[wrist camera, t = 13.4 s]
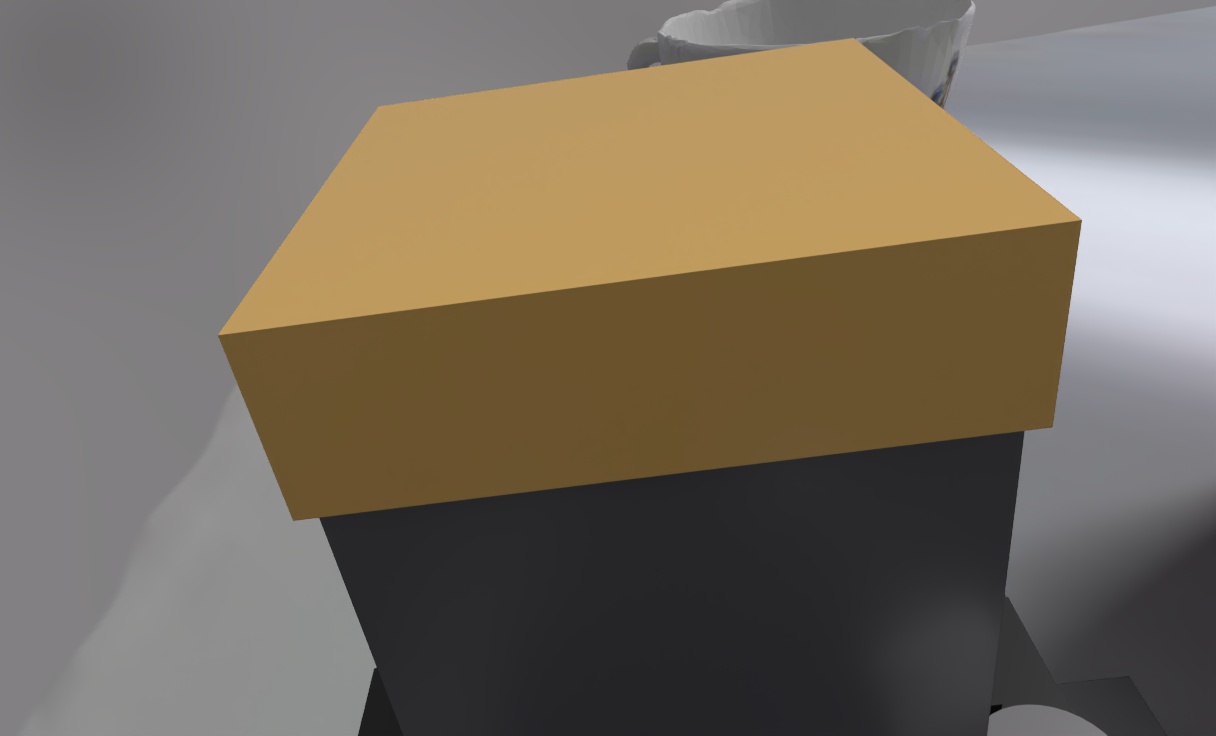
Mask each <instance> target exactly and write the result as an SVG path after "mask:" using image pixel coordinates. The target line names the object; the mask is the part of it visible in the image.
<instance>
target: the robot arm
mask: <svg viewBox="0 0 1216 736" xmlns="http://www.w3.org/2000/svg"><path fill="white" fill-rule="evenodd" d="M358 736H403V733H402V731H401V728H400V725H399V723H398V720H397V718H396V715H395V712H394V710H393V707H392V705H391V702H390V700H389V697H388V694H387V692H386V689H385V687H384V684H383V681H382V679H381V676H380V674H379V671H378V668H375V669H374V672H373V676H372V680H371V684H370V688H369V692H368V697H367V701H366V705H365V709H364V713H363V717H362V721H361V725H360V729H359V734H358ZM987 736H1107V735H1106V734H1105V733H1104V732H1103V731H1101V730H1100V729H1099V728H1097V727H1096V726H1095V725H1093V724H1092V723H1090V722H1088V721H1086V720H1085V719H1083V718H1081V717H1079V716H1077V715H1075V714H1074V713H1073V712H1072V711H1071V709H1070V708H1069V706H1068V705H1067V703H1066V702H1065V700H1064V699H1063V697H1062V695H1061V693H1060V691H1059V689H1058V688H1057V686H1056V684H1055V682H1054V680H1053V678H1052V677H1051V675H1050V673H1049V671H1048V669H1047V668H1046V666H1045V664H1044V662H1043V660H1042V658H1041V657H1040V655H1039V653H1038V651H1037V649H1036V647H1035V646H1034V644H1033V642H1032V640H1031V638H1030V637H1029V635H1028V633H1027V631H1026V629H1025V627H1024V626H1023V624H1022V622H1021V620H1020V618H1019V616H1018V615H1017V613H1016V611H1015V609H1014V607H1013V605H1012V604H1011V602H1010V600H1009V598H1008V597H1005V594H1004V602H1003V610H1002V618H1001V627H1000V635H999V643H998V651H997V659H996V667H995V675H994V684H993V692H992V700H991V708H990V716H989V724H988V732H987Z"/></svg>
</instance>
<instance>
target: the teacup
mask: <svg viewBox="0 0 1216 736" xmlns="http://www.w3.org/2000/svg"><path fill="white" fill-rule="evenodd" d="M974 12H975V4H974V3H973V1H971V0H731V1H726V2H724V3H722V4H721V5H720V6H719V7H718V8H717V9H715V10H712V11H711V12H708V11H704V10H701V11H699V10H695V11H692V12H689V13H685V14H681V15H679V16H677V17H672V18H671V19H669V20H667V21H666V22H665V23H664V25H663V27H662V28H661V30H660V31H658V32H657V36H658V37H650V38H647V39H644V40H643V41H641V42H639V43H638V44H637V45H636V46H635V48H634V49H633V51H632V53H631V55H630V58H629V60H628V63H627V66H628V70H635V69H642V68H648V67H649V66H650V65H652V64H653V63H657V62H661V65H662V66H663V65H670V64H677V63H683V62H690V61H697V60H704V59H711V58H718V57H725V56H732V55H739V54H746V53H753V52H760V51H767V50H774V49H781V48H787V47H794V46H801V45H808V44H815V43H822V42H829V41H836V40H843V39H850V38H854V39H856V40H857V41H858V42H859V43H861V44H862V45H863V46H864V47H866V48H867V49H868V50H869V51H871V52H872V53H873V54H874V55H876V56H877V57H878V58H879V59H881V60H882V61H883V62H884V63H886V64H887V65H888V66H889V67H891V68H892V69H893V70H895V71H896V72H897V73H898V74H900V75H901V76H902V77H903V78H905V79H906V80H907V81H908V82H910V83H911V84H912V85H913V86H915V87H916V88H917V89H918V90H920V91H921V92H922V93H923V94H925V95H926V96H927V97H928V98H930V99H931V100H932V101H933V102H935V103H936V104H937V105H938V106H940V107H941V108H942V109H943V110H944V108H945V106H946V104H947V101H948V99H949V96H950V94H951V91H952V89H953V86H954V83H955V81H956V78H957V75H958V71H959V68H960V64H961V61H962V57H963V54H964V50H965V46H966V41H967V37H968V34H969V30H970V27H971V23H972V19H973V16H974Z"/></svg>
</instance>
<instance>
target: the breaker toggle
mask: <svg viewBox="0 0 1216 736" xmlns="http://www.w3.org/2000/svg"><path fill="white" fill-rule="evenodd" d="M1081 222H1082V220H1081V219H1080V218H1079V217H1077V216H1076V215H1075V214H1074V213H1072V212H1071V211H1070V210H1069V209H1067V208H1066V207H1065V206H1064V205H1062V204H1061V203H1060V202H1059V201H1057V200H1056V199H1055V198H1054V197H1052V196H1051V195H1050V194H1049V193H1047V192H1046V191H1045V190H1044V189H1042V188H1041V187H1040V186H1039V185H1037V184H1036V183H1035V182H1034V181H1032V180H1031V179H1030V178H1029V177H1027V176H1026V175H1025V174H1024V173H1022V172H1021V171H1020V170H1019V169H1017V168H1016V167H1015V166H1014V165H1012V164H1011V163H1010V162H1009V161H1007V160H1006V159H1005V158H1003V157H1002V156H1001V155H1000V154H998V153H997V152H996V151H995V150H993V149H992V148H991V147H990V146H988V145H987V144H986V143H985V142H983V141H982V140H981V139H980V138H978V137H977V136H976V135H975V134H973V133H972V132H971V131H970V130H968V129H967V128H966V127H965V126H963V125H962V124H961V123H960V122H958V121H957V120H956V119H955V118H953V117H952V116H951V115H950V114H948V113H947V112H946V111H945V110H943V109H942V108H941V107H940V106H938V105H937V104H936V103H935V102H933V101H932V100H931V99H930V98H928V97H927V96H926V95H925V94H923V93H922V92H921V91H920V90H918V89H917V88H916V87H915V86H913V85H912V84H911V83H910V82H908V81H907V80H906V79H905V78H903V77H902V76H901V75H900V74H898V73H897V72H896V71H895V70H893V69H892V68H891V67H889V66H888V65H887V64H886V63H884V62H883V61H882V60H881V59H879V58H878V57H877V56H876V55H874V54H873V53H872V52H871V51H869V50H868V49H867V48H866V47H864V46H863V45H862V44H861V43H859V42H858V41H857V40H856V39H854V38H850V39H843V40H836V41H829V42H822V43H815V44H808V45H801V46H794V47H787V48H781V49H774V50H767V51H760V52H753V53H746V54H739V55H732V56H725V57H718V58H711V59H704V60H697V61H690V62H683V63H677V64H670V65H663V66H656V67H649V68H642V69H635V70H628V71H621V72H614V73H608V74H601V75H593V76H587V77H580V78H573V79H566V80H559V81H552V82H545V83H539V84H531V85H524V86H517V87H511V88H503V89H496V90H489V91H483V92H475V93H468V94H462V95H455V96H448V97H441V98H434V99H427V100H420V101H413V102H407V103H399V104H392V105H385V106H379V107H378V108H377V110H376V111H375V112H374V114H373V115H372V117H371V118H370V120H369V121H368V123H367V124H366V126H365V127H364V128H363V130H362V131H361V132H360V134H359V135H358V137H357V138H356V139H355V141H354V142H353V144H352V145H351V147H350V148H349V150H348V151H347V152H346V154H345V155H344V157H343V158H342V159H341V161H340V162H339V164H338V165H337V167H336V168H335V169H334V171H333V172H332V174H331V175H330V176H329V178H328V179H327V181H326V182H325V184H324V185H323V187H322V188H321V189H320V191H319V192H318V194H317V195H316V196H315V198H314V199H313V201H312V202H311V204H310V205H309V206H308V208H307V209H306V211H305V212H304V214H303V215H302V216H301V218H300V220H299V221H298V222H297V223H296V225H295V226H294V228H293V229H292V231H291V232H290V233H289V235H288V236H287V238H286V239H285V241H284V242H283V243H282V245H281V246H280V248H279V249H278V251H277V252H276V253H275V255H274V256H273V258H272V259H271V261H270V262H269V263H268V265H267V266H266V268H265V269H264V270H263V272H262V273H261V275H260V276H259V278H258V279H257V281H256V282H255V283H254V285H253V286H252V288H251V289H250V290H249V292H248V293H247V295H246V296H245V297H244V299H243V300H242V302H241V303H240V305H239V306H238V307H237V309H236V310H235V312H234V313H233V315H232V316H231V318H230V319H229V321H228V322H227V323H226V325H225V326H224V328H223V329H222V330H221V332H220V333H219V334H218V337H219V339H220V342H221V344H222V347H223V349H224V351H225V354H226V356H227V359H228V361H229V364H230V366H231V369H232V371H233V373H234V376H235V378H236V381H237V383H238V386H239V388H240V391H241V393H242V396H243V398H244V401H245V403H246V406H247V408H248V410H249V413H250V415H251V418H252V420H253V423H254V425H255V428H256V430H257V433H258V435H259V438H260V440H261V442H262V445H263V447H264V450H265V452H266V455H267V457H268V460H269V462H270V465H271V467H272V470H273V472H274V474H275V477H276V479H277V482H278V484H279V487H280V489H281V492H282V494H283V497H284V499H285V502H286V504H287V506H288V509H289V511H290V514H291V516H292V519H293V521H296V520H304V519H312V518H320V521H321V524H322V526H323V529H324V531H325V534H326V536H327V539H328V542H329V544H330V547H331V549H332V552H333V555H334V557H335V560H336V562H337V565H338V568H339V570H340V573H341V575H342V578H343V580H344V583H345V586H346V588H347V591H348V593H349V596H350V599H351V601H352V604H353V606H354V609H355V612H356V614H357V617H358V619H359V622H360V624H361V627H362V630H363V632H364V635H365V637H366V640H367V643H368V645H369V648H370V650H371V653H372V656H373V658H374V661H375V663H376V666H377V668H378V671H379V674H380V676H381V679H382V681H383V684H384V687H385V689H386V692H387V694H388V697H389V700H390V702H391V705H392V707H393V710H394V712H395V715H396V718H397V720H398V723H399V725H400V728H401V731H402V733H403V736H987V732H988V724H989V716H990V708H991V700H992V692H993V684H994V675H995V667H996V659H997V651H998V643H999V635H1000V627H1001V618H1002V610H1003V602H1004V594H1005V586H1006V578H1007V569H1008V561H1009V553H1010V545H1011V537H1012V529H1013V521H1014V512H1015V504H1016V496H1017V488H1018V480H1019V472H1020V464H1021V455H1022V447H1023V439H1024V431H1026V430H1034V429H1042V428H1050V427H1053V420H1054V413H1055V406H1056V399H1057V392H1058V385H1059V378H1060V371H1061V364H1062V356H1063V349H1064V342H1065V335H1066V328H1067V321H1068V314H1069V307H1070V300H1071V293H1072V286H1073V279H1074V272H1075V265H1076V258H1077V251H1078V244H1079V236H1080V229H1081Z"/></svg>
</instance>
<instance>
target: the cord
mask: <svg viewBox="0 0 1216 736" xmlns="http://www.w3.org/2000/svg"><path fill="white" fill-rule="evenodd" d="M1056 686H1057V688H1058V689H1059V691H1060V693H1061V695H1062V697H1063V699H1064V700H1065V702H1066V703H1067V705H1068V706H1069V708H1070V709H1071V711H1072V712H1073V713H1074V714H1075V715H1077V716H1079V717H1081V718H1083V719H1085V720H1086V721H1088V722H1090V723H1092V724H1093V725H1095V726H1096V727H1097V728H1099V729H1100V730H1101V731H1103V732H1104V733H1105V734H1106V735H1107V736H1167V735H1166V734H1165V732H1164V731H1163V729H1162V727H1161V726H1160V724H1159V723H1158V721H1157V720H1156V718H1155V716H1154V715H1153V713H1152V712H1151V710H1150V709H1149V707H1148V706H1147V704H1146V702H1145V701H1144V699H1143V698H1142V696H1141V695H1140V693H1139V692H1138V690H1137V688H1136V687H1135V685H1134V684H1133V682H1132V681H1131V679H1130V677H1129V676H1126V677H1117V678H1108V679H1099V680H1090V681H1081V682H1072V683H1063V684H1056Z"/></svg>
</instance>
